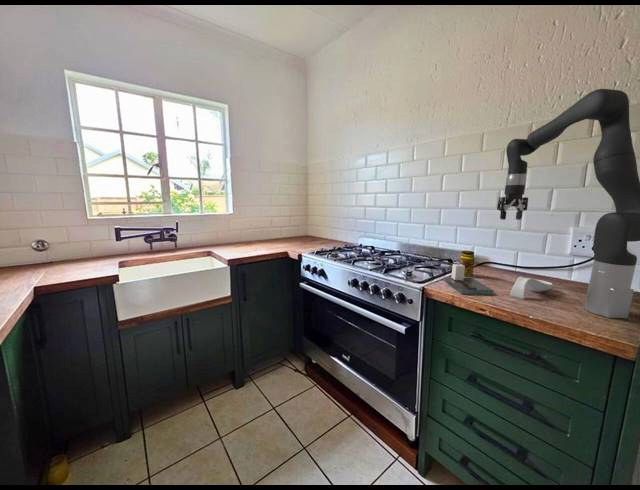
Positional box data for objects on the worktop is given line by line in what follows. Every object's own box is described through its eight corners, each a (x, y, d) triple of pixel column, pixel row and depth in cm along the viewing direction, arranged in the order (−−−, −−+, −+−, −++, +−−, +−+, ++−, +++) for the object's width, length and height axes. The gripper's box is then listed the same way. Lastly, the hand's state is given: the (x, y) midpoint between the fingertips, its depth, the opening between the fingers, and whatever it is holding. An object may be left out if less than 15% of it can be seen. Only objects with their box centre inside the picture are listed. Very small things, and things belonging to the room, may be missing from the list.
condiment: (458, 276, 130) (461, 252, 127) (456, 272, 137) (458, 248, 135) (475, 278, 127) (478, 253, 125) (472, 273, 135) (475, 250, 133)
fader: (463, 280, 116) (464, 266, 115) (454, 280, 116) (456, 265, 115) (459, 277, 119) (461, 264, 118) (451, 277, 119) (452, 263, 118)
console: (492, 295, 105) (493, 288, 104) (461, 294, 105) (462, 287, 105) (471, 282, 121) (472, 276, 120) (444, 281, 121) (445, 275, 121)
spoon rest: (521, 283, 121) (524, 268, 119) (555, 291, 111) (558, 274, 110) (499, 294, 107) (502, 276, 106) (536, 303, 98) (539, 284, 96)
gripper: (509, 183, 120) (504, 220, 123) (536, 184, 122) (530, 220, 125) (495, 184, 127) (491, 218, 130) (521, 185, 130) (516, 218, 133)
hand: (510, 219), depth 128 cm, fingers open, 8 cm apart
